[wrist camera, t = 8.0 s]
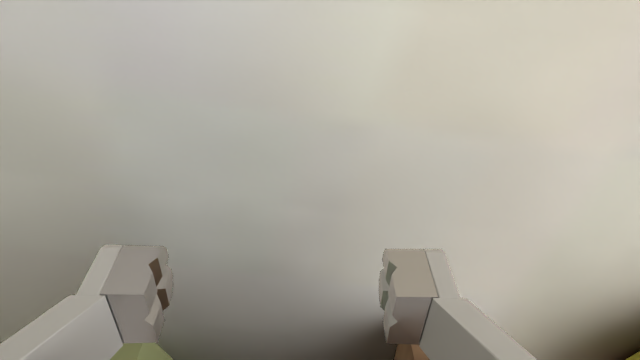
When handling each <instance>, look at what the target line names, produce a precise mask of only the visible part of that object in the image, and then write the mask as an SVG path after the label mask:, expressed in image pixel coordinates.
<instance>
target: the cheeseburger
mask: <svg viewBox="0 0 640 360" xmlns="http://www.w3.org/2000/svg"><path fill="white" fill-rule="evenodd" d="M626 360H640V351H639V352H638V353H636V354H634V355H632V356H631V357H629V358H627V359H626Z"/></svg>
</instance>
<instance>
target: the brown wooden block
mask: <svg viewBox="0 0 640 360" xmlns="http://www.w3.org/2000/svg"><path fill="white" fill-rule="evenodd" d="M394 360H430V359H429V358H428V357H427V355H426V354H425V353H424V352H423V350H422V349H421V348H420V347H419V345H412V344H398V345H397V349H396V353H395V358H394Z"/></svg>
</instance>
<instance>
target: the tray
mask: <svg viewBox="0 0 640 360" xmlns="http://www.w3.org/2000/svg"><path fill="white" fill-rule="evenodd" d="M110 360H173V359H172V358H171V357H170V356H169V355H168V354H167V353H166V352H165V351H164V350H163V349H162V348H160V347H159V346H158V345H157V344H156V343H123V346H122V347H121V348H120V349H119V350H118V351H117V352H116V354H115V355H114V356H113V357H112V358H111V359H110Z"/></svg>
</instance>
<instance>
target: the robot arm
mask: <svg viewBox="0 0 640 360" xmlns="http://www.w3.org/2000/svg"><path fill="white" fill-rule="evenodd" d="M168 258H169V255H168V252H167V248H166V247H164V246H141V245H104V246H102V247H101V248H100V249H99V251H98V253H97V255H96V257H95V259H94V261H93V263H92V264H91V266H90V268H89V270H88V272H87V274H86V276H85V278H84V280H83V282H82V284H81V285H80V287H79V289H78V291H77V293H76V295H69V296H67V297H66V298H65V299H63V300H62V301H60V302H59V303H57V304H56V305H55V306H53V307H52V308H50V309H49V310H48V311H46V312H45V313H43V314H42V315H40V316H39V317H38V318H36V319H35V320H33V321H32V322H31V323H29V324H28V325H26V326H25V327H23V328H22V329H21V330H19V331H18V332H16V333H15V334H14V335H12V336H11V337H9V338H8V339H6V340H5V341H4V342H2V343H1V344H0V360H110V359H111V358H112V357H113V356H114V355H115V354H116V352H117V351H118V350H119V349H120V348H121V347H122V346H123V343H158V341H159V338H160V334H161V331H162V328H163V325H164V322H165V318H164V314H163V310H164V309H166V308H167V307H168V306H169V305H170V302H171V298H172V293H173V285H174V283H173V273H172V269H171V268H170V267H169V266H167V265H166V264H167V261H168ZM382 261H383V267H384V268H383V269H382V270H381V271H380V276H379V301H380V307H381V308H382V309H383V310H384V317H383V326H384V332H385V338H386V344H412V345H419V347H420V348H421V349H422V350H423V352H424V353H425V354H426V355H427V357H428V358H429V359H430V360H537V359H536V358H535V357H534V356H532V355H531V354H530V353H529V352H528V351H527V350H526V349H524V348H523V347H522V346H521V345H520V344H519V343H517V342H516V341H515V340H514V339H513V338H512V337H511V336H509V335H508V334H507V333H506V332H505V331H504V330H502V329H501V328H500V327H499V326H498V325H497V324H495V323H494V322H493V321H492V320H491V319H490V318H489V317H487V316H486V315H485V314H484V313H483V312H482V311H480V310H479V309H478V308H477V307H476V306H475V305H474V304H472V303H471V302H470V301H469V300H468V299H465V298H461V297H460V294H459V291H458V289H457V286H456V283H455V280H454V277H453V274H452V271H451V268H450V265H449V263H448V260H447V257H446V254H445V251H444V250H443V249H423V250H422V249H385V250H384V252H383V257H382Z"/></svg>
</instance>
